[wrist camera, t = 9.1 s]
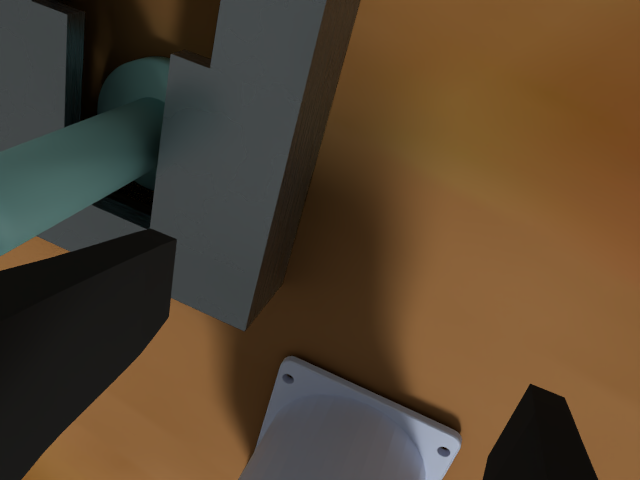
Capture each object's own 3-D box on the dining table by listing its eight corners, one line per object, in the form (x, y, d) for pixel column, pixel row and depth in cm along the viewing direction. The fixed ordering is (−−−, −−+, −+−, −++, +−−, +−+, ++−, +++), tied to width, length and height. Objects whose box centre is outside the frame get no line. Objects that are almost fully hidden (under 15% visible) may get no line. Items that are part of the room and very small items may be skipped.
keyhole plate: (282, 284, 24) (244, 331, 21) (35, 176, 26) (-30, 205, 23) (413, -192, 15) (381, -222, 13) (35, -295, 17) (-66, -342, 15)
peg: (210, 206, 23) (50, 329, 16) (104, 155, 24) (-97, 250, 17) (239, 88, 21) (64, 170, 13) (119, 34, 21) (-112, 83, 14)
